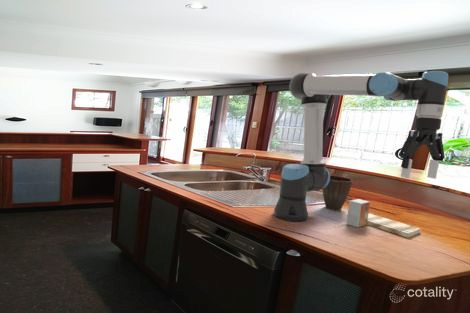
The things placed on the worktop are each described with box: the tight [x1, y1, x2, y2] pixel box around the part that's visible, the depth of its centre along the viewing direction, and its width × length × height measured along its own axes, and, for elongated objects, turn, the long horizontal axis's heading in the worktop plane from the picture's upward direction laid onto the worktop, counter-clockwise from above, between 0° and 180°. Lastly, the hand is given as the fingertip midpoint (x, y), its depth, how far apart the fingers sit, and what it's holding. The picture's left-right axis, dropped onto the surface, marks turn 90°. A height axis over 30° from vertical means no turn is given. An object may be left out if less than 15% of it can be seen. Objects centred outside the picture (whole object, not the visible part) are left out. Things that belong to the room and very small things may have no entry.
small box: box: [346, 198, 371, 228], centre depth 125 cm, size 8×6×10 cm
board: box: [366, 213, 421, 239], centre depth 126 cm, size 22×12×2 cm, turn 38°
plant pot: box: [322, 175, 354, 211], centre depth 148 cm, size 15×15×16 cm
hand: (418, 177), depth 102 cm, fingers open, 13 cm apart
